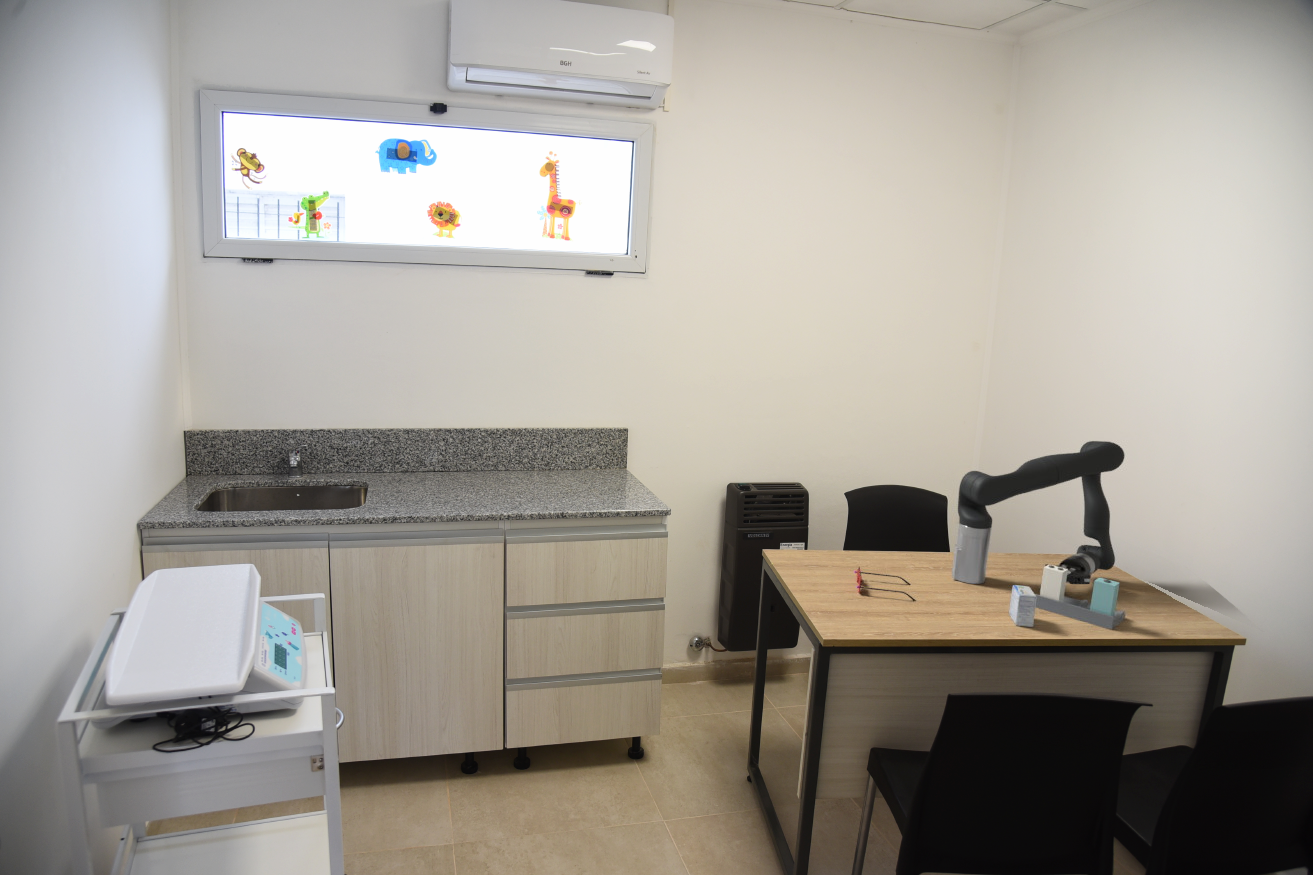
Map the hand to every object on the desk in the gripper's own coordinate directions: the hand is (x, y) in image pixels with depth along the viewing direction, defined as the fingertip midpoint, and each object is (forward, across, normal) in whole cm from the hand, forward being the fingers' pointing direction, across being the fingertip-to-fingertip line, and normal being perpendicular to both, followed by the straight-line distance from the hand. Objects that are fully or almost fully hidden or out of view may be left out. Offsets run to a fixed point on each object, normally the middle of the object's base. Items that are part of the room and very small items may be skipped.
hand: (1056, 580), depth 223 cm
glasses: (+28, -37, +8) cm, 47 cm away
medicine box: (+19, -2, +8) cm, 20 cm away
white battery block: (+2, 0, +6) cm, 6 cm away
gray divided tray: (-1, +6, +8) cm, 10 cm away
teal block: (+2, +13, +6) cm, 14 cm away
